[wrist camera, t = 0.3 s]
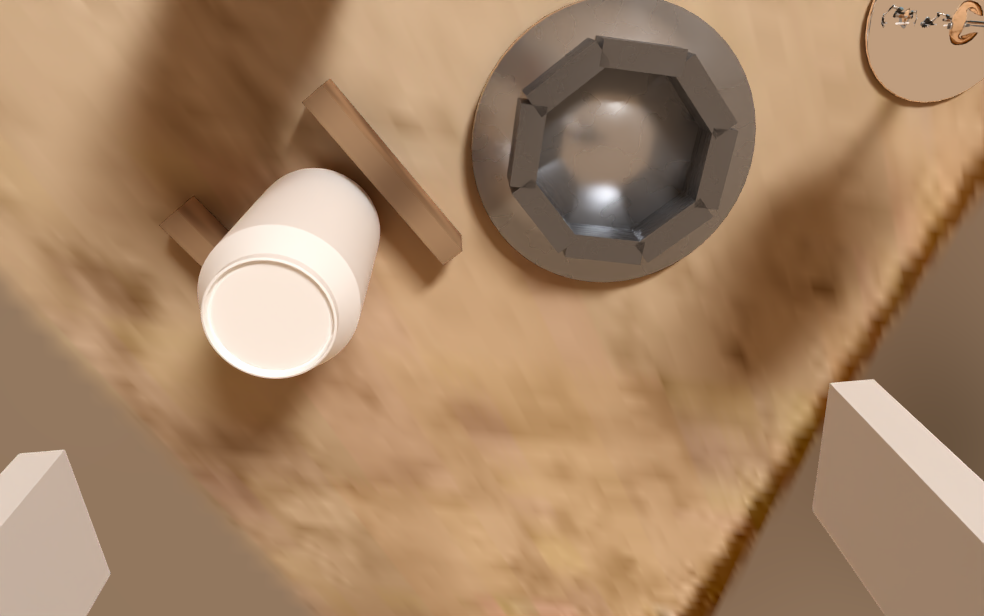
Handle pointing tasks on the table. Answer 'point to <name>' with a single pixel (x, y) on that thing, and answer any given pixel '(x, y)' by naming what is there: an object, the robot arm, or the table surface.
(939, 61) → the wineglass
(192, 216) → the walnut cradle
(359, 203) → the beverage can
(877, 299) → the table surface
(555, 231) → the hub collar
